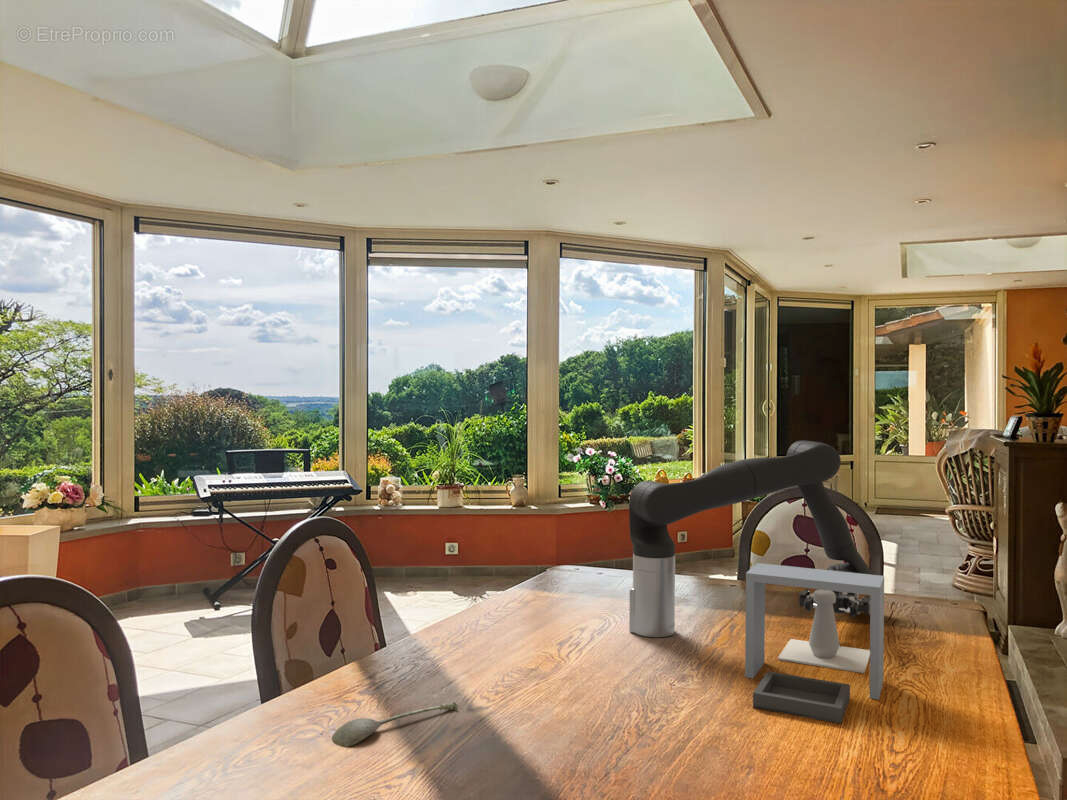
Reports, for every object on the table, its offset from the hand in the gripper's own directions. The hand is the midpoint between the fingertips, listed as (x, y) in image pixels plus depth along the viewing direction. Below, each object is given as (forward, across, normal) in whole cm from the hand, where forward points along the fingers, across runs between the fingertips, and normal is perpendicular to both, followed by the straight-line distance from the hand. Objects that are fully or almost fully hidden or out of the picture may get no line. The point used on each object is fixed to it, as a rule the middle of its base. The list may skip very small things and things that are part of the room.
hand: (829, 609), depth 167 cm
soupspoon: (+74, -55, +8) cm, 93 cm away
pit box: (+34, 0, +8) cm, 35 cm away
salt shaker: (+7, 0, +8) cm, 10 cm away
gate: (+21, 0, +8) cm, 22 cm away
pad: (+6, 0, +8) cm, 10 cm away
